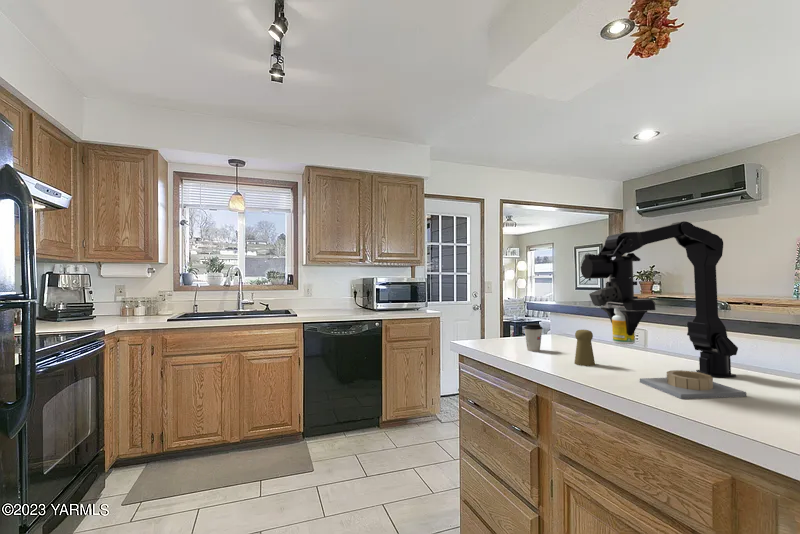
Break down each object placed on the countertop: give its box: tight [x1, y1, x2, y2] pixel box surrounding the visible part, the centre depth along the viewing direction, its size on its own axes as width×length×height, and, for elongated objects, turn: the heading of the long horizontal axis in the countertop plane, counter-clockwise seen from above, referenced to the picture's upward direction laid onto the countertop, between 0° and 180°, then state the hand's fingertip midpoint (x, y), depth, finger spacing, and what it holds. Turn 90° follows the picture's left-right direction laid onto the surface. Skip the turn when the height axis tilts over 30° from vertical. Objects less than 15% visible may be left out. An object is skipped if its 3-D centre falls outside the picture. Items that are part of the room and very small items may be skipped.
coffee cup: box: [523, 323, 543, 352], centre depth 148 cm, size 7×7×10 cm
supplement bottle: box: [611, 307, 636, 345], centre depth 108 cm, size 5×5×10 cm
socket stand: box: [639, 369, 747, 400], centre depth 96 cm, size 16×14×4 cm
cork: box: [574, 329, 596, 367], centre depth 125 cm, size 6×6×11 cm
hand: (623, 333), depth 107 cm, fingers closed on supplement bottle, 5 cm apart
